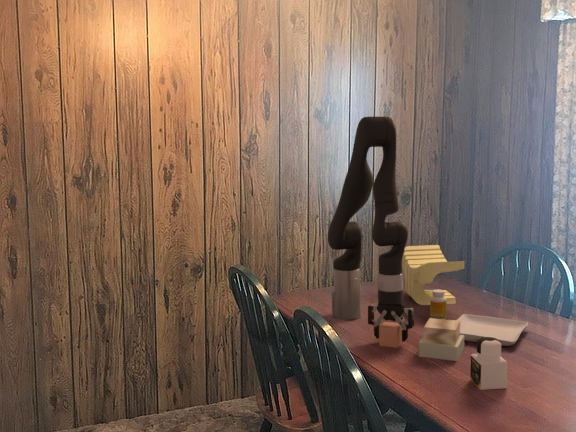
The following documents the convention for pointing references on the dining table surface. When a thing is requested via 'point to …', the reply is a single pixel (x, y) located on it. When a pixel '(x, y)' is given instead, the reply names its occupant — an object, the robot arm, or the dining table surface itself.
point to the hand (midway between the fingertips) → (391, 339)
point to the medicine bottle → (489, 365)
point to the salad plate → (491, 328)
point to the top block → (442, 331)
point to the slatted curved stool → (426, 271)
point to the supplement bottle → (438, 305)
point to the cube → (390, 334)
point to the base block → (442, 349)
